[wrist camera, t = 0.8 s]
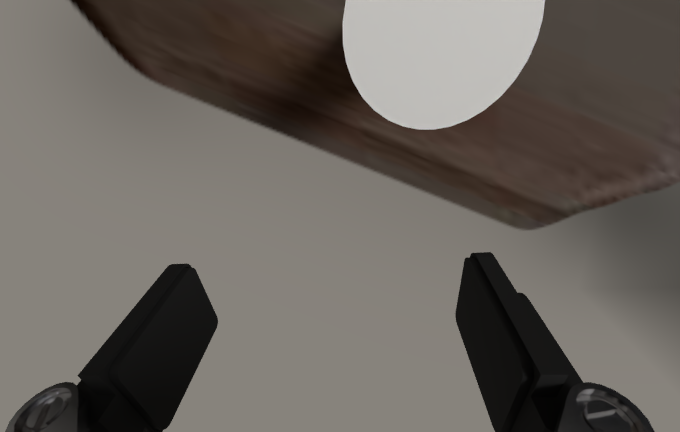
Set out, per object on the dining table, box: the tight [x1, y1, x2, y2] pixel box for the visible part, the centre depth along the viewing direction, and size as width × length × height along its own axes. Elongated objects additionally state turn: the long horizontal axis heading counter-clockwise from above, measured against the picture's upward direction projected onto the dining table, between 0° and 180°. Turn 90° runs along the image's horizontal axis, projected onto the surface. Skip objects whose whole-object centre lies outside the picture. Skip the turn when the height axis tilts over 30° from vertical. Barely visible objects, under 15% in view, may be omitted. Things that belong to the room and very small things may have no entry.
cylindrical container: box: [343, 0, 545, 129], centre depth 21 cm, size 7×7×25 cm
